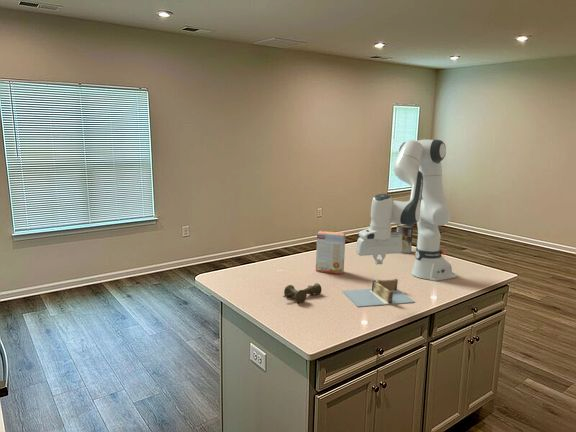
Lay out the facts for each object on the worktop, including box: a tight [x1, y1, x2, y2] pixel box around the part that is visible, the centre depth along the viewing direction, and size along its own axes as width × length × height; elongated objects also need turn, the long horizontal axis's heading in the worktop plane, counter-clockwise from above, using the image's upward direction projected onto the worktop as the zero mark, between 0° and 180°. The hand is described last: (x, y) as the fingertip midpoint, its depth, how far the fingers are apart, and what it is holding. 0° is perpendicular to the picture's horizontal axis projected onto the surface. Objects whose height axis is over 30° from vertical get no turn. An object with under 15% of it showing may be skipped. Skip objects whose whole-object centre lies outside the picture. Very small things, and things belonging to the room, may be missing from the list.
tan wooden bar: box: [371, 279, 393, 303], centre depth 195 cm, size 16×2×5 cm, turn 19°
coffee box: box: [396, 224, 414, 254], centre depth 269 cm, size 9×6×16 cm
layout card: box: [341, 278, 416, 308], centre depth 196 cm, size 27×18×6 cm, turn 104°
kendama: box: [283, 282, 323, 304], centre depth 193 cm, size 6×10×20 cm
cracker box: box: [315, 230, 346, 275], centre depth 228 cm, size 14×6×21 cm, turn 71°
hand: (378, 264), depth 188 cm, fingers closed
